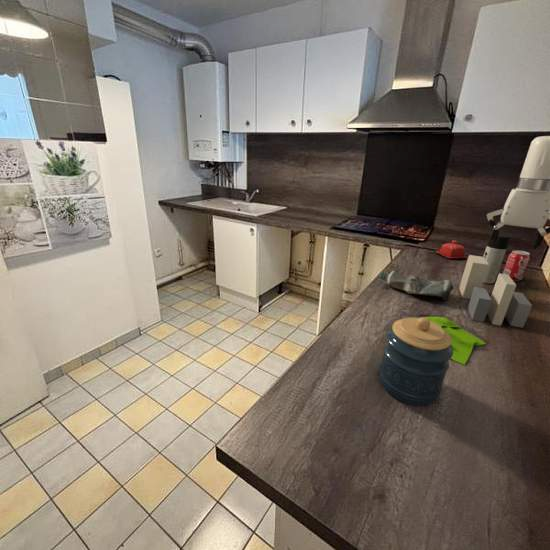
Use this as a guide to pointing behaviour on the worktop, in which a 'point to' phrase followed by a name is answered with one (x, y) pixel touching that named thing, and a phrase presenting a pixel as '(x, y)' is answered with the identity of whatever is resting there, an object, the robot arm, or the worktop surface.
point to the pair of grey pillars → (514, 313)
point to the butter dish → (452, 250)
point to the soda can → (517, 264)
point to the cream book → (500, 298)
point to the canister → (415, 360)
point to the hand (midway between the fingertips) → (513, 245)
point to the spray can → (495, 256)
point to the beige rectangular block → (473, 275)
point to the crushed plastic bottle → (418, 285)
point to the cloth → (458, 339)
